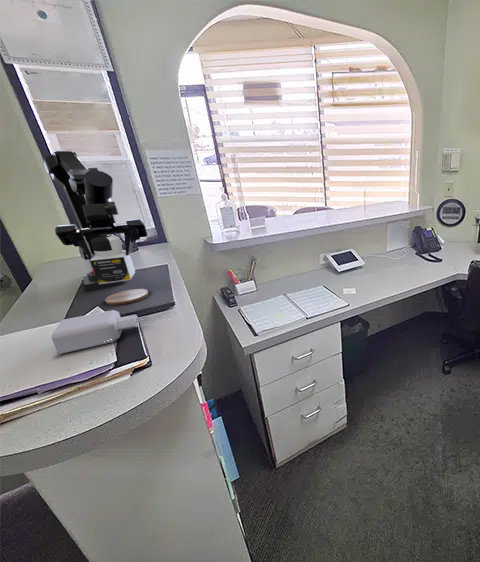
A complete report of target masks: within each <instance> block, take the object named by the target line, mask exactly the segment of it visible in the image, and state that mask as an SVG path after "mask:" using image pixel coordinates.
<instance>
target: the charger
mask: <svg viewBox="0 0 480 562" xmlns="http://www.w3.org/2000/svg"><path fill="white" fill-rule="evenodd" d="M147 318H148V316H147V315H144V316H143V315H142V316H138V315H137V314H131V315H126V316H121V314H120V312H119V311H118V310H114V309H111V310H107V311H106V310H105V311H102V312H96V313H91V314H85V315H79V316H74V317H69V318H64V319H61V320H60V322H59V323H58V325H57V326H56V327H55V329H54V330H53V332H52V334H51V341H52V343H53V345H54V348H55V349H56V353H57V355H62V354H67V353H71V352H76V351H80V350H84V349H88V348H92V347H93V348H94V347H98V346H101V345H105V344H110V343H114V342H116V341H117V340H118V339H120V337H121V333H122V331H125V330H131V329H135V328H138V324H139V323H141V322H146V321H147ZM110 339H112V340H110ZM107 340H109V341H107ZM104 341H105V342H104Z"/></svg>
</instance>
